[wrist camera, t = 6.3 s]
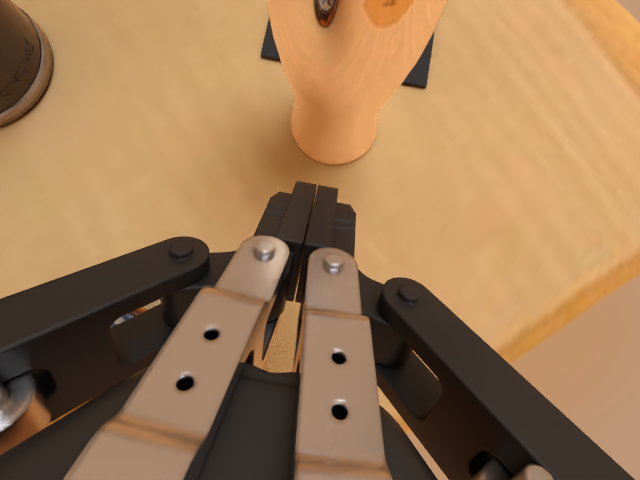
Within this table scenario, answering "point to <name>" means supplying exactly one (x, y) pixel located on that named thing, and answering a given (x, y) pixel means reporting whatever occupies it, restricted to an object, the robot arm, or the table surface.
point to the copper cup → (347, 66)
